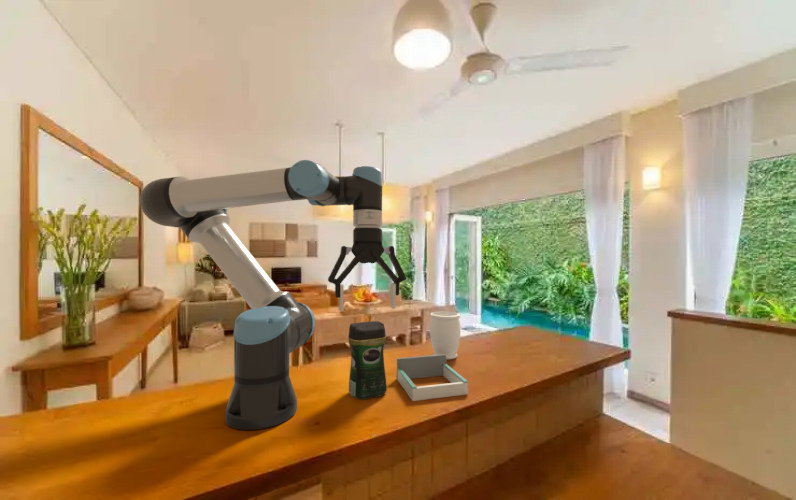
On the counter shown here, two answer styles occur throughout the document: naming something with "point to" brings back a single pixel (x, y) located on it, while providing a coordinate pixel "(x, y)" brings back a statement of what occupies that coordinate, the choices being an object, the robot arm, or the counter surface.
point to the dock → (429, 368)
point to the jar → (445, 333)
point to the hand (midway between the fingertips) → (367, 309)
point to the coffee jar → (367, 360)
